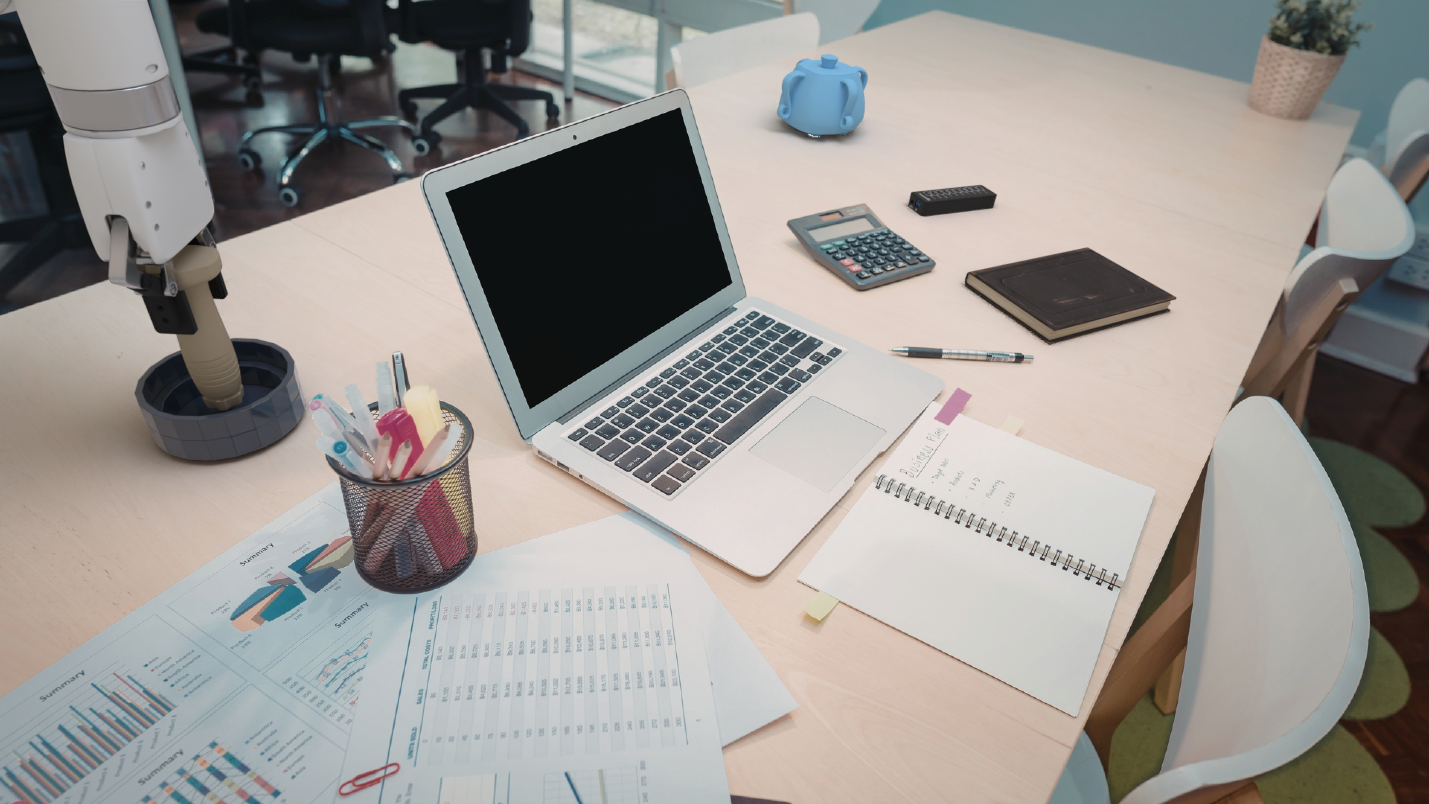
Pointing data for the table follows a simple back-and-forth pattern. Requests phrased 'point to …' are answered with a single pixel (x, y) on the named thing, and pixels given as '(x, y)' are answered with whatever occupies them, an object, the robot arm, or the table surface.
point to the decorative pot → (823, 96)
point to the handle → (206, 329)
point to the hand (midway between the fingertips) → (193, 312)
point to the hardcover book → (1068, 294)
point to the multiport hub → (952, 200)
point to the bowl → (233, 432)
